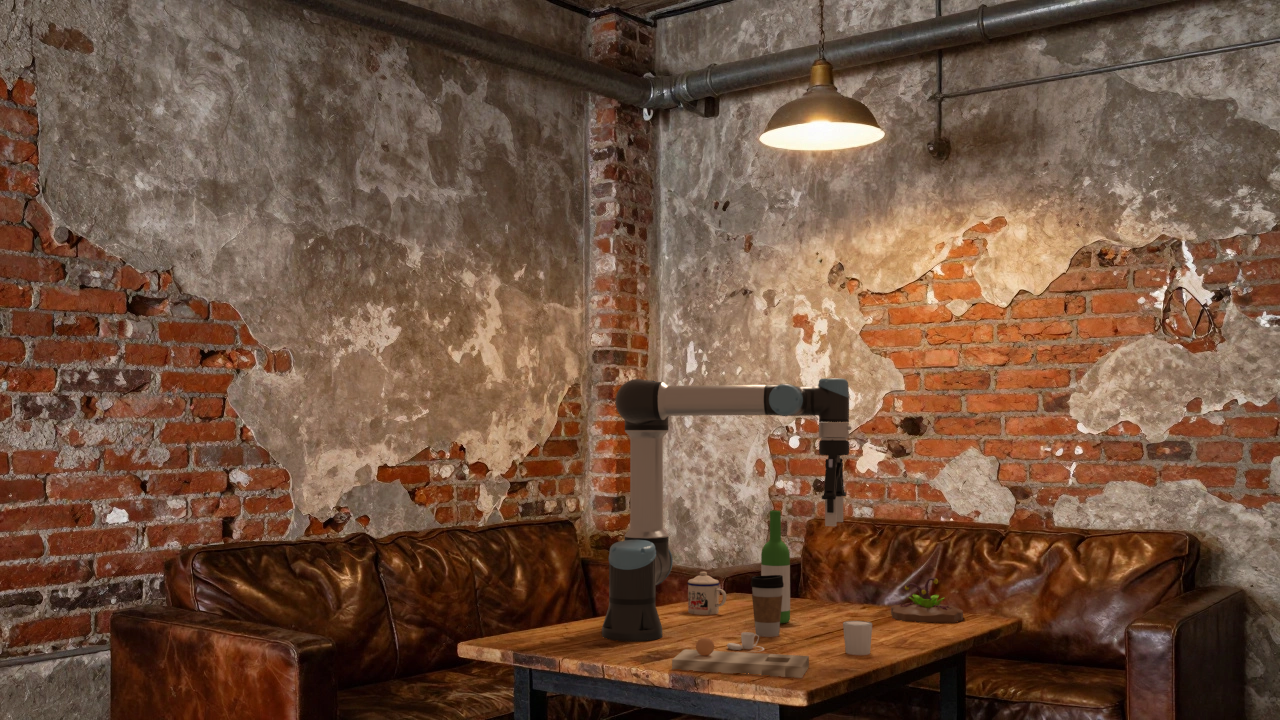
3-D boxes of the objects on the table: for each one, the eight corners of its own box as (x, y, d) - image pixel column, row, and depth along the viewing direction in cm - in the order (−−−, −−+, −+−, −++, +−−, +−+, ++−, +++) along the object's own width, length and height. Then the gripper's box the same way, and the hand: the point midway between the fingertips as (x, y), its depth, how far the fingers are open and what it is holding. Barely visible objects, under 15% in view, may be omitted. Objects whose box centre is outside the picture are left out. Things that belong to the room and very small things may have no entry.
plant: (966, 624, 312) (966, 583, 313) (892, 622, 316) (892, 581, 317) (960, 613, 332) (959, 574, 333) (890, 611, 336) (889, 572, 336)
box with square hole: (672, 671, 250) (672, 659, 250) (684, 660, 261) (684, 649, 261) (801, 678, 242) (801, 666, 243) (808, 667, 254) (808, 655, 254)
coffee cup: (782, 638, 289) (782, 578, 289) (748, 637, 290) (748, 577, 291) (785, 633, 297) (785, 574, 298) (752, 631, 298) (752, 573, 299)
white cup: (852, 649, 276) (851, 619, 276) (878, 652, 271) (877, 622, 272) (837, 653, 270) (837, 623, 271) (863, 657, 266) (863, 626, 266)
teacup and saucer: (725, 653, 272) (725, 635, 272) (729, 646, 280) (729, 629, 280) (763, 654, 270) (763, 637, 270) (765, 648, 278) (765, 631, 278)
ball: (694, 656, 253) (694, 638, 253) (698, 653, 257) (698, 635, 257) (712, 657, 252) (712, 639, 252) (715, 654, 256) (715, 636, 256)
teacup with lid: (681, 613, 327) (681, 572, 328) (698, 609, 335) (698, 569, 336) (717, 617, 320) (717, 575, 321) (734, 613, 328) (734, 572, 329)
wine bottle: (776, 618, 319) (775, 509, 321) (796, 622, 313) (795, 511, 315) (755, 621, 315) (755, 510, 317) (775, 625, 309) (775, 512, 310)
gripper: (842, 439, 279) (843, 528, 278) (854, 439, 303) (855, 520, 302) (811, 439, 281) (812, 527, 280) (825, 438, 305) (826, 519, 304)
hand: (834, 524), depth 291 cm, fingers open, 13 cm apart
